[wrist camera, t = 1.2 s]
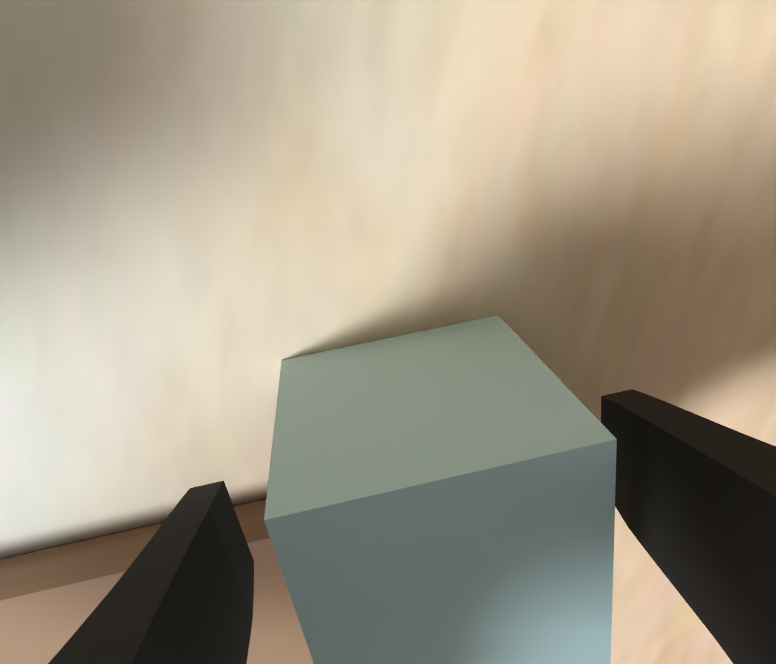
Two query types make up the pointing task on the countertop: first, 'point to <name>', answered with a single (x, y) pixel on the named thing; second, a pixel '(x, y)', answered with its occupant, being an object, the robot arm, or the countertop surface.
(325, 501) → the teal cube
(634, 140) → the countertop surface
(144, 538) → the plate
